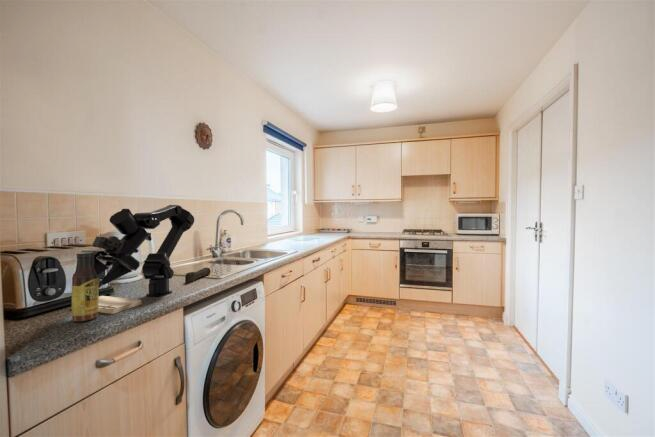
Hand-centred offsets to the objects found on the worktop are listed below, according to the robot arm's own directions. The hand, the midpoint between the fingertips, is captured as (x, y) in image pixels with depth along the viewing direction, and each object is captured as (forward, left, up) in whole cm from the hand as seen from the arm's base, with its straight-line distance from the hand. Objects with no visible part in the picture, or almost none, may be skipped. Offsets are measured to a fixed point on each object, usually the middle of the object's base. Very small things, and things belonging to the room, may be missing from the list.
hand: (93, 282), depth 90 cm
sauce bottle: (+2, 0, -11) cm, 11 cm away
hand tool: (-50, -3, -11) cm, 51 cm away
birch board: (-8, -5, -10) cm, 14 cm away
